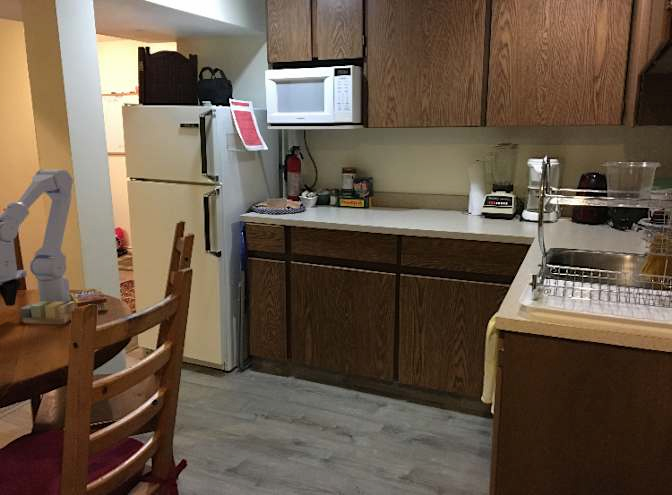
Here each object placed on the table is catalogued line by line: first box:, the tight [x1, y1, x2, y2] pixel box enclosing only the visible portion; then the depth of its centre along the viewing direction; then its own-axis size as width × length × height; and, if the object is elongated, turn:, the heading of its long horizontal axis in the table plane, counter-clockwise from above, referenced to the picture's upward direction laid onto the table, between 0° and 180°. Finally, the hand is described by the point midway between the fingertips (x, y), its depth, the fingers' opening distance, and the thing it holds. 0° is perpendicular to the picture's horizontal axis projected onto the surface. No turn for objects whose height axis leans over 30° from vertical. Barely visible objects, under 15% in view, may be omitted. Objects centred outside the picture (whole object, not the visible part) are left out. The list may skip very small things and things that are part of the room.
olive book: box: [30, 300, 51, 318], centre depth 174 cm, size 5×3×5 cm, turn 171°
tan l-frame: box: [22, 300, 75, 325], centre depth 173 cm, size 7×13×5 cm, turn 81°
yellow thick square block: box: [45, 302, 66, 318], centre depth 173 cm, size 5×3×5 cm, turn 171°
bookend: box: [19, 303, 35, 322], centre depth 174 cm, size 5×3×4 cm, turn 171°
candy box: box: [70, 287, 109, 312], centre depth 186 cm, size 9×4×15 cm
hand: (10, 305), depth 175 cm, fingers closed
